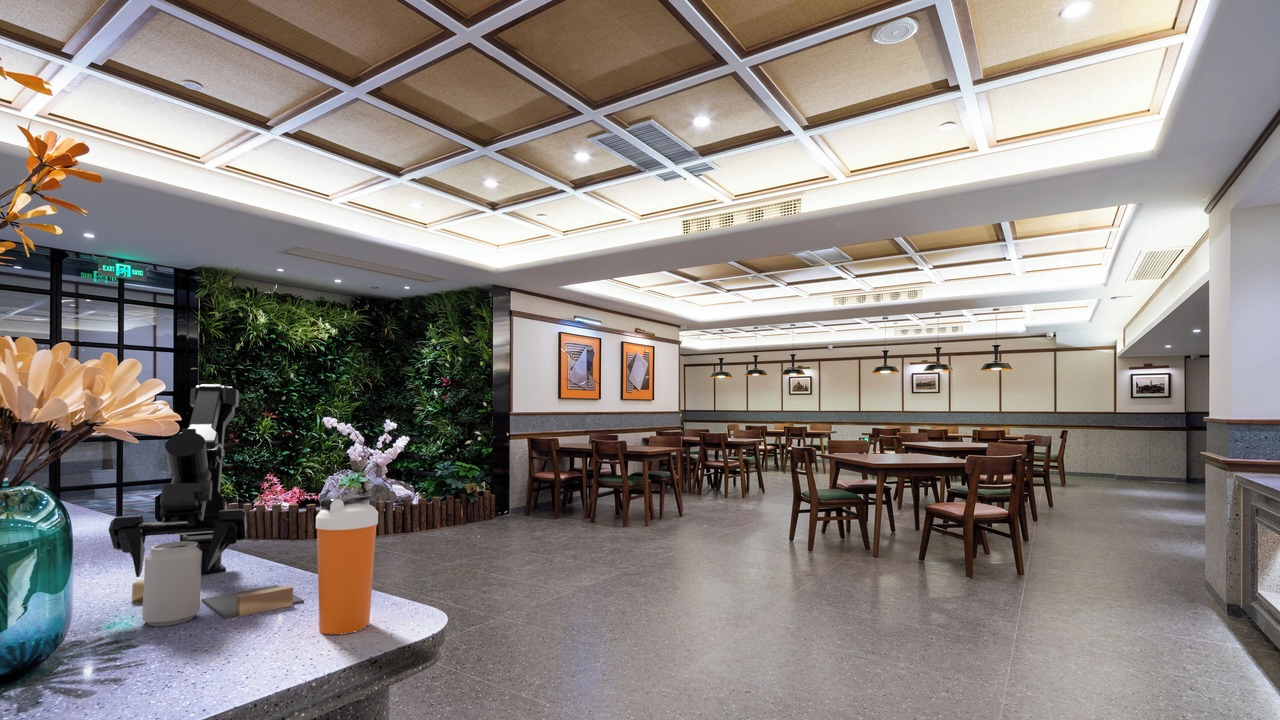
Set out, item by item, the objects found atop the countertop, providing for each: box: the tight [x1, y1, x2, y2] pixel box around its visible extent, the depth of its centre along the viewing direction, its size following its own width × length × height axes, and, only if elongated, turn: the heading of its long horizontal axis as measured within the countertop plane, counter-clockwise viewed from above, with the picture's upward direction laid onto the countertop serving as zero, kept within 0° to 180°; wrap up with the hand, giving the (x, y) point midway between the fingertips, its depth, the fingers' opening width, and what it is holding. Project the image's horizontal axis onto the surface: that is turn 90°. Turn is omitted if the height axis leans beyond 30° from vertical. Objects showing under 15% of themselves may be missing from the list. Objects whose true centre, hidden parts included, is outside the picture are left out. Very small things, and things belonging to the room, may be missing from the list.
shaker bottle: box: [315, 493, 379, 635], centre depth 102 cm, size 9×9×20 cm
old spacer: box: [131, 579, 144, 603], centre depth 117 cm, size 5×5×3 cm
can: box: [141, 540, 202, 627], centre depth 105 cm, size 8×8×12 cm
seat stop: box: [236, 585, 294, 617], centre depth 110 cm, size 2×8×3 cm, turn 137°
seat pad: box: [201, 584, 305, 620], centre depth 115 cm, size 14×12×1 cm
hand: (172, 572), depth 105 cm, fingers open, 9 cm apart
